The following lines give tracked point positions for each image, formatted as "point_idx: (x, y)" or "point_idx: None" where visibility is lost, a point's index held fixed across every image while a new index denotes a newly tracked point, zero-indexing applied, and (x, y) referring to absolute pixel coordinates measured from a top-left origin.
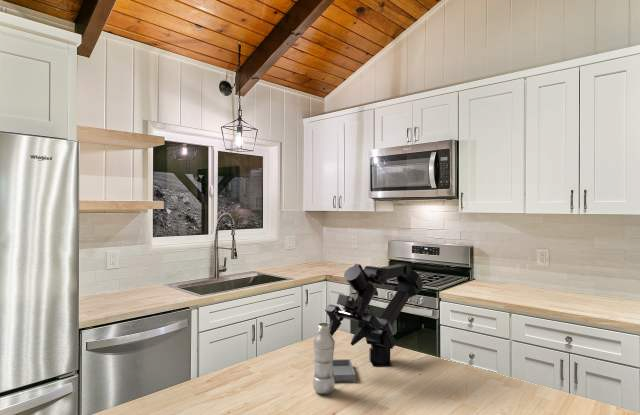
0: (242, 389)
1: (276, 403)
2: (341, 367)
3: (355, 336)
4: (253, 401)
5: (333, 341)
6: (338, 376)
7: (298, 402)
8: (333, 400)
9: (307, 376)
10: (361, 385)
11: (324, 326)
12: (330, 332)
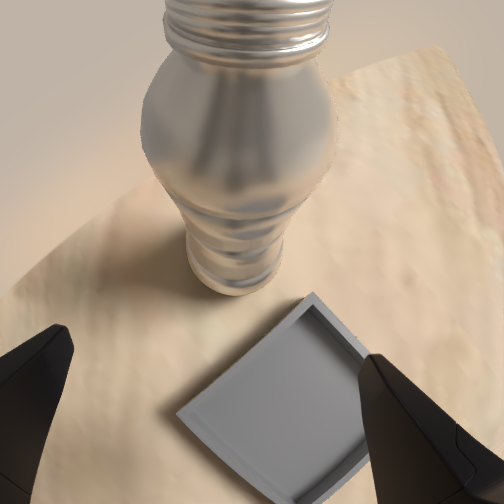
0: (416, 138)
1: None
2: (307, 469)
3: (2, 361)
4: (349, 107)
5: (142, 125)
6: (237, 362)
7: None
8: (166, 227)
9: (369, 318)
10: (144, 393)
11: (297, 32)
12: (384, 389)
